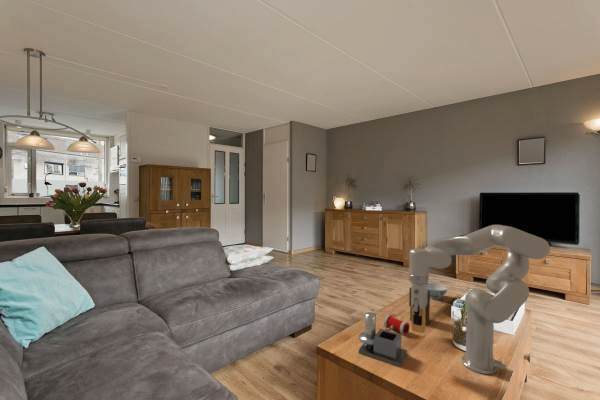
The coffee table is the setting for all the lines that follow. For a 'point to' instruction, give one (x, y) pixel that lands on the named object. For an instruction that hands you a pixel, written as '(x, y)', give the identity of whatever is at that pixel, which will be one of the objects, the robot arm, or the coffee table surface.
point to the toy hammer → (396, 324)
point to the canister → (425, 307)
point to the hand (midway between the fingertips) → (418, 321)
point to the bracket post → (381, 343)
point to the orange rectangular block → (417, 327)
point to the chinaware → (436, 290)
